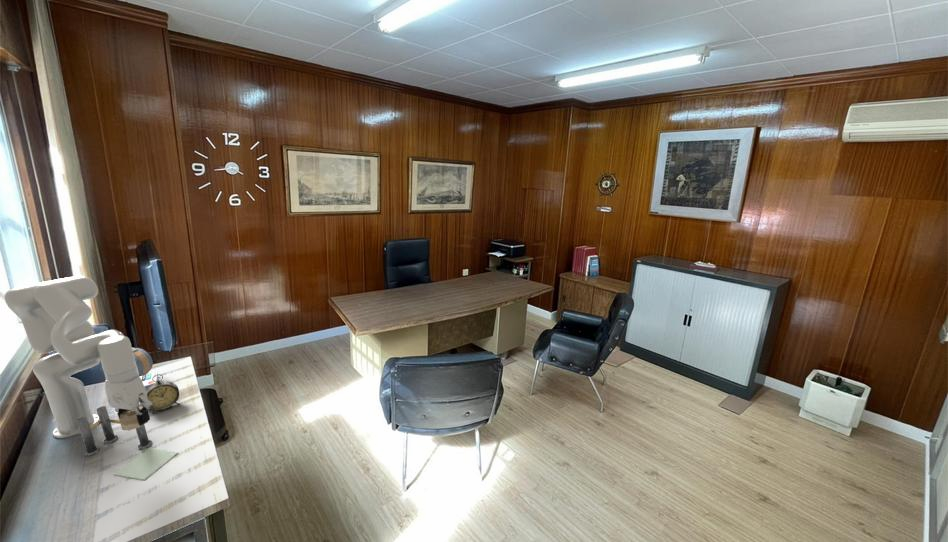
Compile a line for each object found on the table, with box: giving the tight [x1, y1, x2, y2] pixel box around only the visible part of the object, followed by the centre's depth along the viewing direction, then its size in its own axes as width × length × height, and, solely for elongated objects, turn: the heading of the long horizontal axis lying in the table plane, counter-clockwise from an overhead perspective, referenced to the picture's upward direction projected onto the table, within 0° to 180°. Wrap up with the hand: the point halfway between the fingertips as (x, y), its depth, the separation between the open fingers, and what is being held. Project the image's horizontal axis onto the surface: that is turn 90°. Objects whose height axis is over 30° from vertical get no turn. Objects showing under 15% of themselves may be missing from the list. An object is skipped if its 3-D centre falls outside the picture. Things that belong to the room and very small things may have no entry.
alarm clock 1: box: [132, 347, 161, 379], centre depth 170 cm, size 14×10×18 cm
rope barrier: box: [77, 405, 153, 457], centre depth 130 cm, size 19×10×14 cm, turn 81°
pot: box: [118, 406, 148, 431], centre depth 121 cm, size 6×6×4 cm
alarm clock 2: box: [146, 373, 180, 414], centre depth 152 cm, size 11×5×16 cm, turn 132°
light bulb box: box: [139, 371, 160, 407], centre depth 157 cm, size 11×7×11 cm, turn 37°
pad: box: [113, 447, 179, 481], centre depth 126 cm, size 12×12×1 cm
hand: (135, 420), depth 121 cm, fingers closed on pot, 6 cm apart
